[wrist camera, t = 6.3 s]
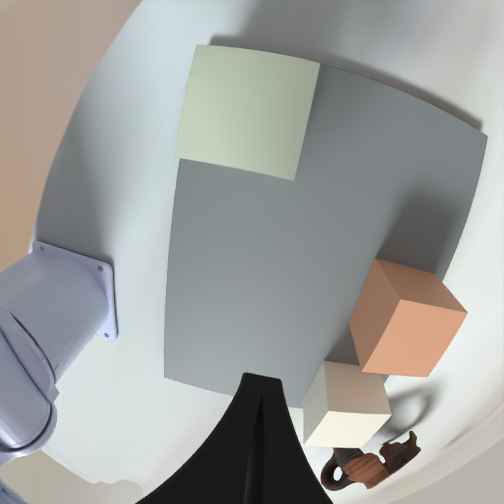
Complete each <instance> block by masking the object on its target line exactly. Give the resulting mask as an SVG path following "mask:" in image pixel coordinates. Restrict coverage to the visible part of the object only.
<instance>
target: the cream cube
mask: <svg viewBox="0 0 504 504" xmlns="http://www.w3.org/2000/svg"><path fill="white" fill-rule="evenodd" d="M303 406H304V445H308V446H320V447H339V448H361V447H362V446H363V445H364V444H365V443H366V442H367V441H368V440H369V439H370V438H371V437H372V436H373V435H374V434H375V433H376V432H377V431H378V430H379V429H380V427H381V426H382V425H383V424H384V423H385V422H386V421H387V420H388V419H389V417H390V416H391V415H392V413H391V409H390V405H389V402H388V398H387V395H386V391H385V387H384V384H383V381H382V377H381V374H378V373H368V372H361V368H360V366H358V365H350V364H343V363H336V362H329V361H323V362H322V364H321V366H320V368H319V370H318V372H317V374H316V376H315V378H314V380H313V382H312V384H311V386H310V387H309V389H308V391H307V393H306V395H305V397H304V398H303Z"/></svg>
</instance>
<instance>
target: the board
mask: <svg viewBox="0 0 504 504" xmlns="http://www.w3.org/2000/svg"><path fill="white" fill-rule="evenodd" d="M487 138H488V136H487V135H485V134H484V133H482V132H480V131H479V130H477V129H475V128H474V127H472V126H470V125H469V124H467V123H465V122H464V121H462V120H460V119H458V118H457V117H455V116H453V115H451V114H449V113H447V112H445V111H443V110H442V109H440V108H438V107H436V106H434V105H432V104H429V103H427V102H425V101H423V100H421V99H419V98H417V97H414V96H412V95H410V94H408V93H405V92H403V91H400V90H398V89H396V88H393V87H391V86H388V85H385V84H383V83H380V82H377V81H375V80H372V79H369V78H366V77H363V76H360V75H357V74H354V73H351V72H348V71H345V70H341V69H338V68H334V67H331V66H327V65H323V64H320V67H319V72H318V77H317V81H316V86H315V91H314V95H313V100H312V105H311V109H310V114H309V118H308V123H307V127H306V132H305V136H304V140H303V145H302V149H301V153H300V158H299V162H298V166H297V170H296V175H295V179H294V181H292V180H288V179H283V178H279V177H275V176H270V175H266V174H261V173H257V172H252V171H247V170H242V169H238V168H232V167H227V166H222V165H217V164H211V163H206V162H200V161H194V160H188V159H182V158H180V162H179V168H178V175H177V182H176V190H175V198H174V206H173V215H172V224H171V234H170V244H169V256H168V269H167V284H166V303H165V332H164V377H165V378H168V379H172V380H175V381H178V382H181V383H185V384H188V385H192V386H195V387H199V388H203V389H206V390H210V391H214V392H218V393H222V394H227V395H231V396H235V394H236V392H237V390H238V387H239V385H240V381H241V378H242V374H243V373H245V372H248V373H253V374H258V375H263V376H268V377H273V378H279V379H280V380H281V381H282V385H283V390H284V395H285V399H286V403H287V406H288V407H295V408H302V409H304V406H303V398H304V397H305V395H306V393H307V391H308V389H309V387H310V386H311V384H312V382H313V380H314V378H315V376H316V374H317V372H318V370H319V368H320V366H321V364H322V362H323V361H329V362H336V363H343V364H350V365H358V366H360V364H359V360H358V356H357V352H356V348H355V344H354V340H353V336H352V333H351V329H350V325H349V322H348V321H349V319H350V317H351V315H352V313H353V310H354V308H355V306H356V303H357V301H358V299H359V296H360V294H361V292H362V289H363V287H364V284H365V282H366V279H367V277H368V274H369V272H370V269H371V267H372V264H373V261H374V259H375V258H376V259H380V260H384V261H388V262H392V263H396V264H399V265H403V266H407V267H411V268H415V269H418V270H422V271H426V272H429V273H433V274H435V275H436V276H437V277H438V278H439V280H440V281H441V282H442V281H443V279H444V277H445V274H446V272H447V270H448V267H449V265H450V263H451V260H452V258H453V255H454V253H455V250H456V248H457V245H458V243H459V240H460V237H461V235H462V232H463V229H464V226H465V223H466V220H467V217H468V214H469V211H470V208H471V205H472V201H473V198H474V195H475V191H476V187H477V184H478V180H479V176H480V172H481V168H482V163H483V159H484V154H485V149H486V144H487ZM381 377H382V381H383V384H384V383H385V381H386V380H387V378H388V377H389V375H388V374H381Z"/></svg>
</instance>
